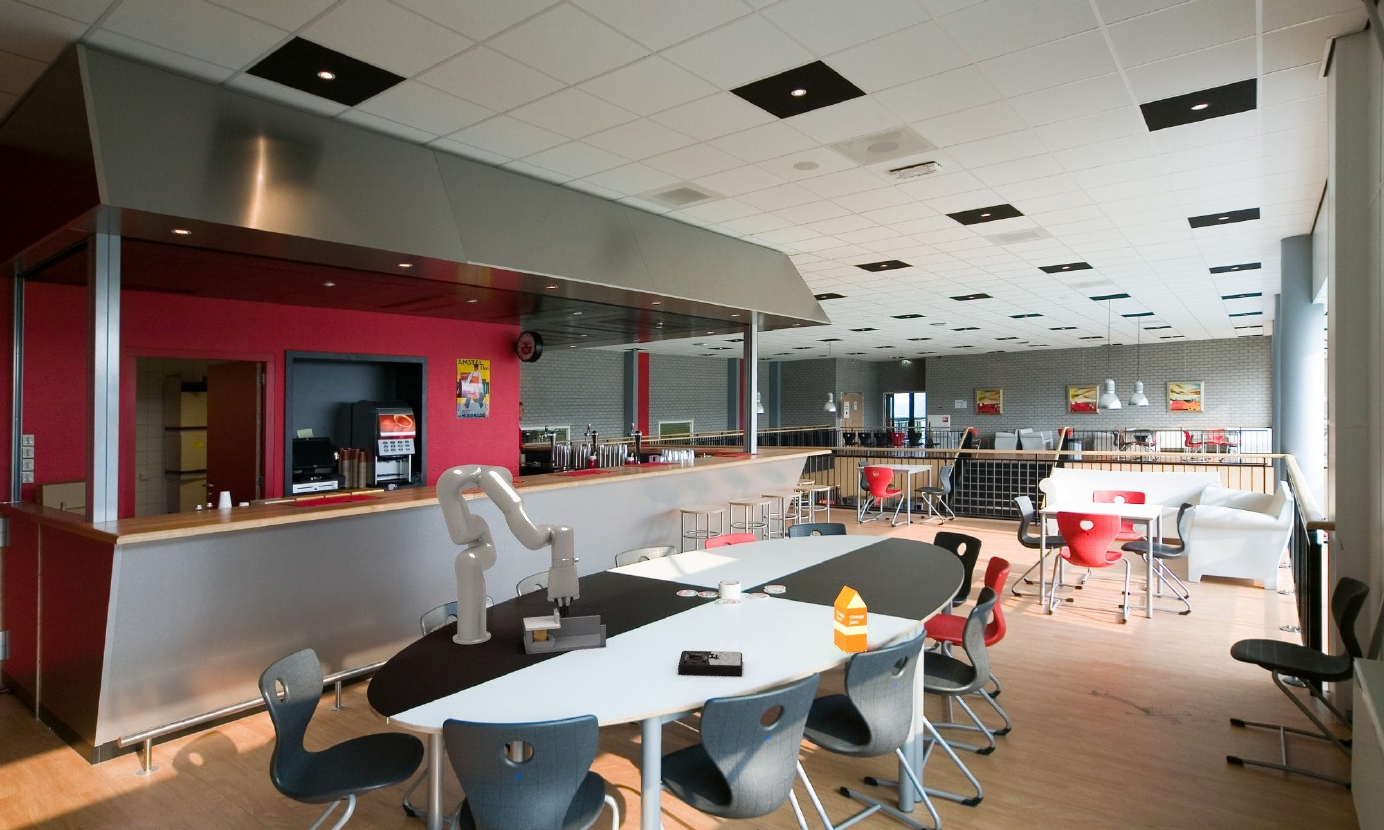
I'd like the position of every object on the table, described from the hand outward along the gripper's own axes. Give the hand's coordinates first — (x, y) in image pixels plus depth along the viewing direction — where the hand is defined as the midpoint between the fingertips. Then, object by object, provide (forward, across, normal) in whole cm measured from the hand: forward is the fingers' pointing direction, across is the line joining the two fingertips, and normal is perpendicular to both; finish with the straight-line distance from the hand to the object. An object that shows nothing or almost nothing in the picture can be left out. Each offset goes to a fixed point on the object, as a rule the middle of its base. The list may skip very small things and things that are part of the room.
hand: (563, 616), depth 252 cm
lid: (+2, +7, 0) cm, 8 cm away
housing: (+10, 0, 0) cm, 10 cm away
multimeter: (+11, -40, +35) cm, 55 cm away
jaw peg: (+8, +8, 0) cm, 11 cm away
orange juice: (+12, -91, +30) cm, 97 cm away
